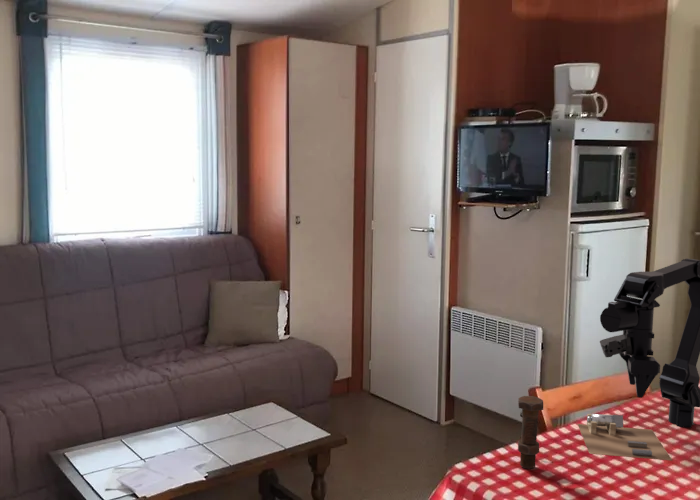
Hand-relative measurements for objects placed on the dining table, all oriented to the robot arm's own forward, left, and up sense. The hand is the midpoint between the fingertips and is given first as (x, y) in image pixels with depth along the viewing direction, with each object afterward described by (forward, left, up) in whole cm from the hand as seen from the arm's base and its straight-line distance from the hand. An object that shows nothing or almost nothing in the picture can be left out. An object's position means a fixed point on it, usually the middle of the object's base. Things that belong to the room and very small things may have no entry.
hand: (635, 390), depth 167 cm
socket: (+10, -1, -11) cm, 15 cm away
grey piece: (-1, -6, -10) cm, 12 cm away
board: (+5, -3, -12) cm, 13 cm away
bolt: (+22, -26, -12) cm, 36 cm away
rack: (-1, -7, -11) cm, 13 cm away
